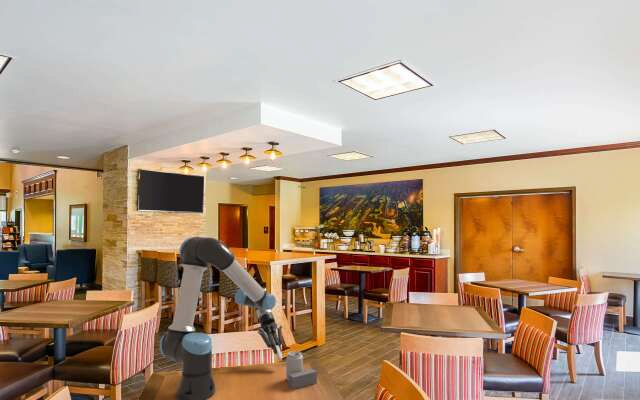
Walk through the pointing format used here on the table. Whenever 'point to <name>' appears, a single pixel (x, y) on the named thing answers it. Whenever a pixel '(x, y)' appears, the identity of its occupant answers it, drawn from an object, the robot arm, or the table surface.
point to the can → (293, 363)
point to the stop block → (302, 379)
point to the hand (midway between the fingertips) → (280, 359)
